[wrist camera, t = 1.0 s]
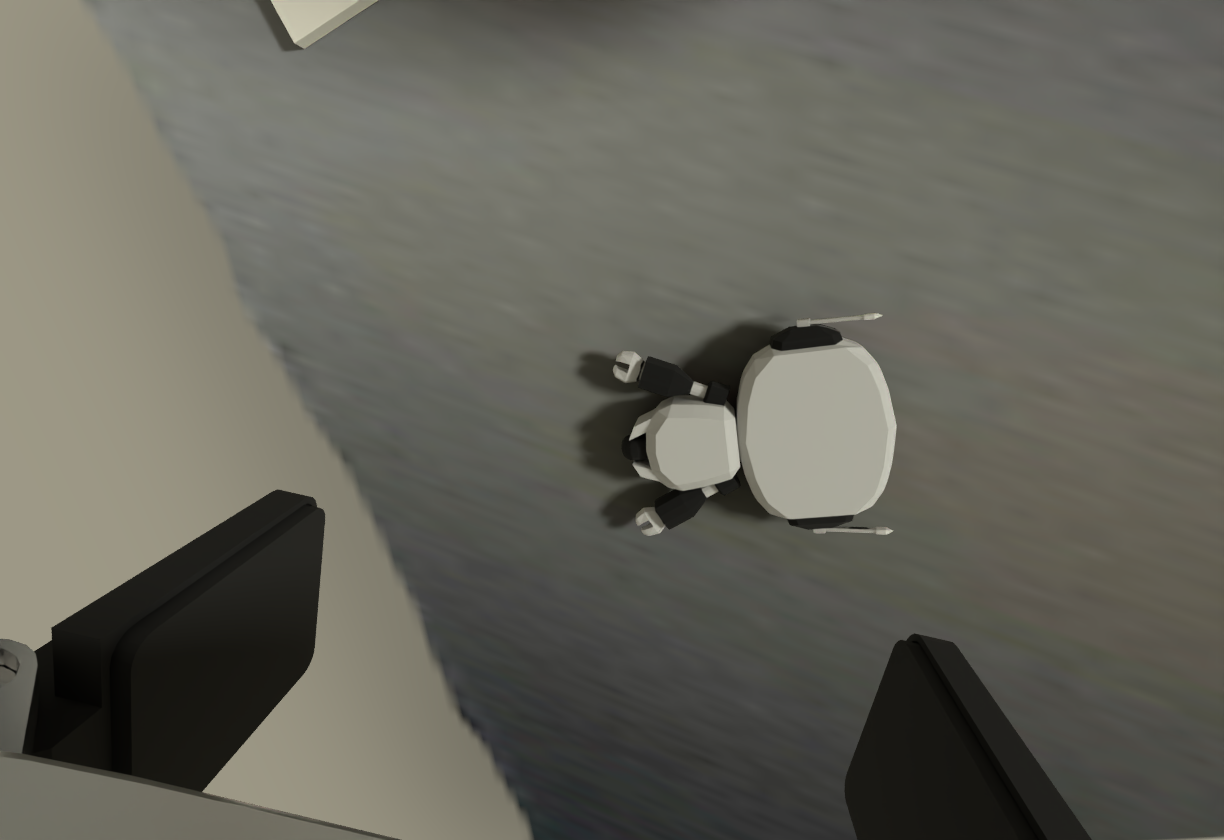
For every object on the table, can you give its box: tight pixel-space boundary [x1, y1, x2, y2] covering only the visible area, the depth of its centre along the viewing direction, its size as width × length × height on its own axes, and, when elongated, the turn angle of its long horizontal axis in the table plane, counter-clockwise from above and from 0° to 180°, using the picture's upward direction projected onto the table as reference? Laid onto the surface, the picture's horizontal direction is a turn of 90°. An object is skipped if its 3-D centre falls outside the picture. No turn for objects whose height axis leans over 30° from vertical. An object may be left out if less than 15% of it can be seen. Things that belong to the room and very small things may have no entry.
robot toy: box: [613, 313, 897, 536], centre depth 37 cm, size 12×4×15 cm
